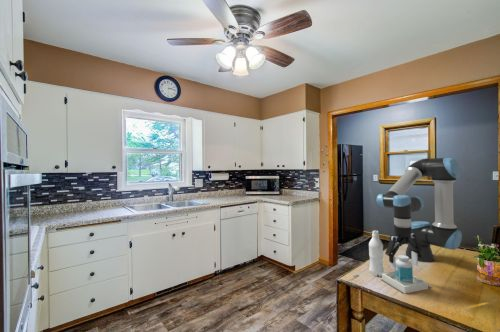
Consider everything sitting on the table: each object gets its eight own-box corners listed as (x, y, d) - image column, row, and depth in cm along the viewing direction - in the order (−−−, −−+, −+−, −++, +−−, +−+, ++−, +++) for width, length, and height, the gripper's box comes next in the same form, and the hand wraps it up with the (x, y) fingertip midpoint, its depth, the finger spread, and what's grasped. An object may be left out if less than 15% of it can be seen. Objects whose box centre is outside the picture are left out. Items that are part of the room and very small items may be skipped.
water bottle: (366, 272, 135) (365, 229, 134) (378, 271, 135) (377, 228, 135) (374, 278, 128) (373, 233, 127) (386, 277, 128) (385, 232, 128)
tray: (403, 275, 128) (403, 270, 128) (428, 288, 115) (427, 282, 115) (381, 279, 125) (381, 273, 125) (404, 293, 112) (404, 287, 112)
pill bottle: (416, 284, 118) (415, 257, 118) (407, 288, 115) (406, 261, 115) (400, 277, 125) (400, 252, 125) (392, 281, 122) (391, 255, 121)
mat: (407, 276, 129) (407, 274, 129) (432, 289, 116) (432, 287, 116) (380, 281, 125) (380, 279, 125) (403, 295, 111) (403, 293, 111)
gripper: (415, 221, 126) (416, 260, 127) (376, 226, 120) (377, 267, 121) (429, 224, 119) (430, 266, 119) (388, 230, 113) (389, 273, 114)
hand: (404, 266), depth 120 cm, fingers open, 13 cm apart
